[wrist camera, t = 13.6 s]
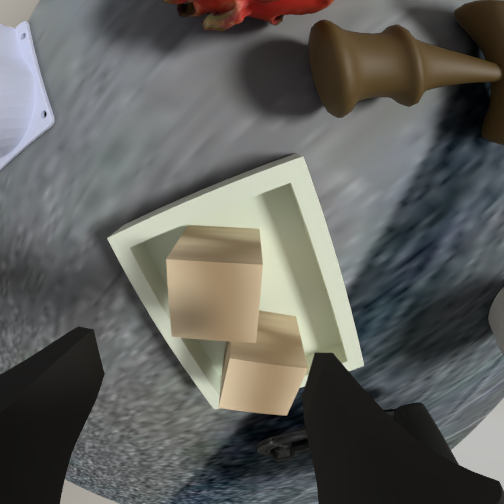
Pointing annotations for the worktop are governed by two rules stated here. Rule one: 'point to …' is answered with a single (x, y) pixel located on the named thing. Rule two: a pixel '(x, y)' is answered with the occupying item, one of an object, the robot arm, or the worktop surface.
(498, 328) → the cup
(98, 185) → the worktop surface
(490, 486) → the robot arm
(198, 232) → the maple block
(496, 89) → the kendama
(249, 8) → the dragon fruit
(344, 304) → the tray
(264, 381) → the maple block
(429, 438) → the milk frother
